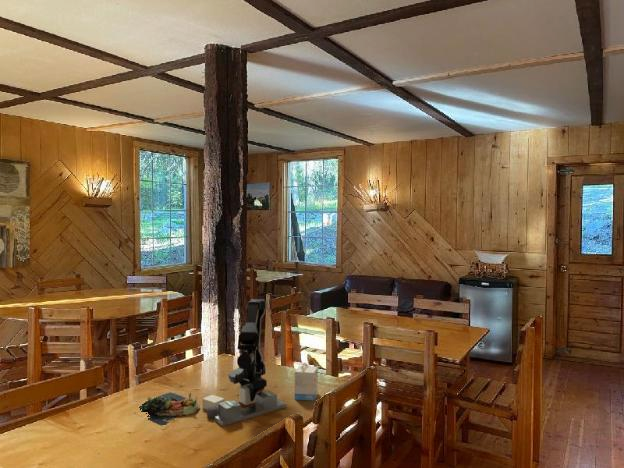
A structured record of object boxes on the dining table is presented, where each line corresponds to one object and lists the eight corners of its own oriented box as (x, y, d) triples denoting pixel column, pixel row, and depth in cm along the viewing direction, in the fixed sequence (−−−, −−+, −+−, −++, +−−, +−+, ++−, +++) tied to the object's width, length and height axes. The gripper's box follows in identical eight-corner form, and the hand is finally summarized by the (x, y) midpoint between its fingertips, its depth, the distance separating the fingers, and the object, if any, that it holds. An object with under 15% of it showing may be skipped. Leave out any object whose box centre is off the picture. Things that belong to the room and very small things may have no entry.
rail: (214, 420, 167) (214, 403, 167) (277, 402, 184) (278, 387, 184) (222, 426, 162) (222, 409, 162) (286, 407, 180) (286, 391, 179)
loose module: (239, 401, 185) (239, 386, 185) (251, 397, 189) (251, 382, 189) (245, 405, 181) (245, 389, 181) (258, 401, 185) (258, 386, 185)
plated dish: (227, 409, 179) (227, 390, 179) (168, 437, 156) (168, 416, 156) (170, 390, 199) (170, 374, 199) (111, 413, 176) (110, 395, 176)
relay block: (202, 408, 178) (202, 398, 178) (212, 404, 182) (212, 394, 182) (214, 413, 174) (214, 402, 174) (224, 408, 178) (224, 398, 178)
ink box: (314, 401, 186) (314, 368, 185) (294, 399, 187) (294, 367, 187) (318, 393, 194) (318, 362, 194) (298, 392, 196) (299, 361, 195)
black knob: (205, 416, 171) (205, 408, 171) (214, 413, 173) (214, 405, 173) (210, 419, 168) (210, 411, 168) (220, 416, 170) (220, 409, 170)
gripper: (220, 359, 187) (220, 396, 187) (242, 370, 172) (242, 411, 173) (243, 354, 194) (243, 390, 194) (267, 365, 179) (267, 404, 180)
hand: (248, 398), depth 185 cm, fingers closed on loose module, 5 cm apart
